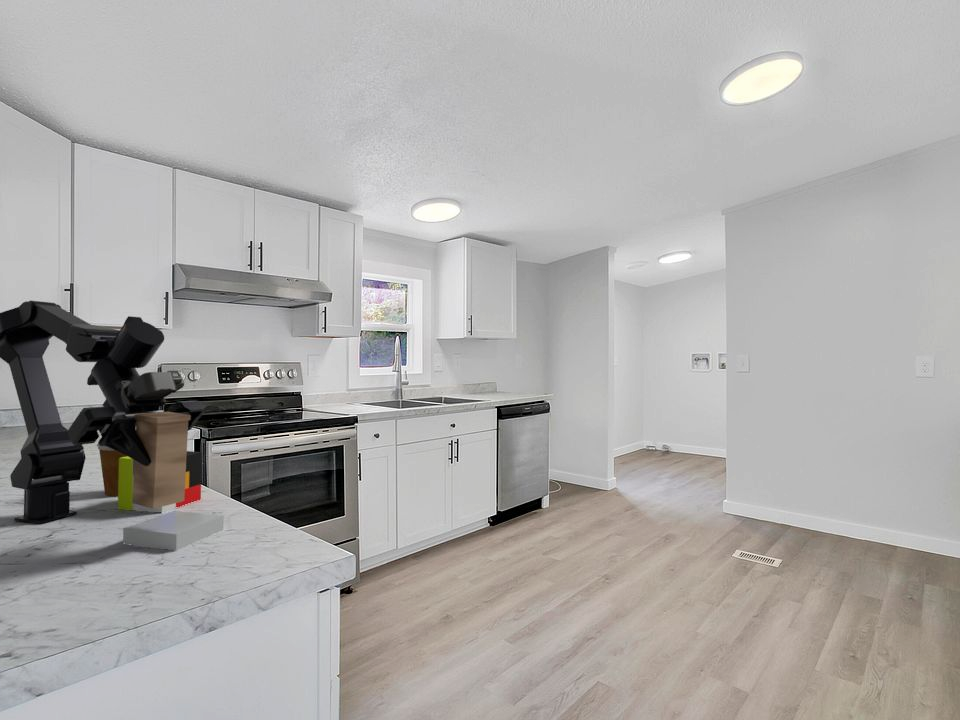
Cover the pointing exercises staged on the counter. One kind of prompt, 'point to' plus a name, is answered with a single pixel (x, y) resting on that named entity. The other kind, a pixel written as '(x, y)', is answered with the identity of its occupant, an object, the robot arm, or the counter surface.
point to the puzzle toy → (190, 496)
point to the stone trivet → (173, 530)
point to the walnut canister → (161, 459)
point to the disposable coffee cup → (110, 469)
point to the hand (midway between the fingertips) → (165, 461)
